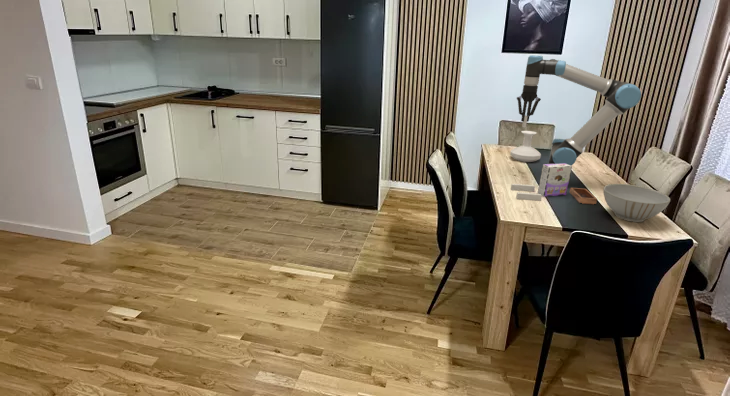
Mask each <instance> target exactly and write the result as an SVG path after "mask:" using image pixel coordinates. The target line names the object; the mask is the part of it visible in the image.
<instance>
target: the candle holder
mask: <svg viewBox="0 0 730 396" xmlns="http://www.w3.org/2000/svg"><path fill="white" fill-rule="evenodd" d="M520 132H521V134H522V135H523V142H522V145H520V146H516V147H514V148H512V149H511V150H510V153H509V155H510V156H511V157H512V159H514V160H516V161H520V162H525V163H531V162H532V163H533V162H536V161H538V160H540V159H541V157H542V154H541V152H539V150H537V149H536V148H534V147H533V146H532V142H533V136H535V135H538V132H536V131H534V130H521V131H520Z"/></svg>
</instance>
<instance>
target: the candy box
mask: <svg viewBox="0 0 730 396" xmlns="http://www.w3.org/2000/svg"><path fill="white" fill-rule="evenodd" d="M572 168H573V165H572V166H570V165H568V164H566V163H562V164H548V163H547V164H546V163H544V164H542V168H541V173H540V180H539V184H538V191H537V194H541V195H542V197H556V196H559V197H560V196H567V193H568V188H569V184H570V179H571V176H570V174H571V173H572Z"/></svg>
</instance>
